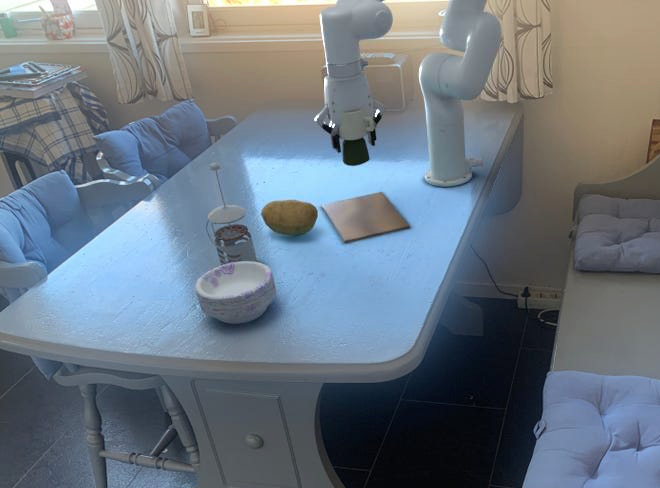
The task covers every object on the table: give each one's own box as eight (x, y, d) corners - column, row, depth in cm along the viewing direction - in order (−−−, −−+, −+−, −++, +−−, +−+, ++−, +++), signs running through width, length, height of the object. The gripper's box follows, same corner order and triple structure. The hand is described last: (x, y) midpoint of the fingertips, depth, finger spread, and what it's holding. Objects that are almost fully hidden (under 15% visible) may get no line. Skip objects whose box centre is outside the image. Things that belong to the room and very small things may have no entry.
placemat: (381, 193, 196) (381, 191, 196) (409, 228, 179) (409, 225, 179) (322, 207, 192) (321, 204, 192) (345, 243, 175) (344, 240, 175)
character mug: (383, 159, 179) (377, 103, 171) (372, 170, 173) (365, 114, 166) (342, 156, 182) (334, 101, 174) (329, 167, 177) (320, 111, 169)
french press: (242, 286, 163) (213, 175, 148) (203, 274, 168) (172, 167, 153) (272, 265, 169) (248, 157, 154) (234, 255, 174) (207, 150, 160)
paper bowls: (232, 287, 162) (223, 255, 158) (293, 298, 157) (286, 264, 152) (188, 326, 151) (178, 292, 147) (253, 338, 146) (244, 303, 141)
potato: (276, 221, 187) (270, 191, 182) (327, 227, 183) (322, 196, 178) (256, 239, 180) (249, 208, 175) (309, 245, 176) (303, 214, 171)
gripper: (377, 58, 170) (385, 135, 180) (301, 71, 166) (314, 149, 176) (387, 66, 164) (395, 145, 175) (309, 80, 160) (322, 160, 170)
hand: (354, 147), depth 175 cm, fingers closed on character mug, 7 cm apart
